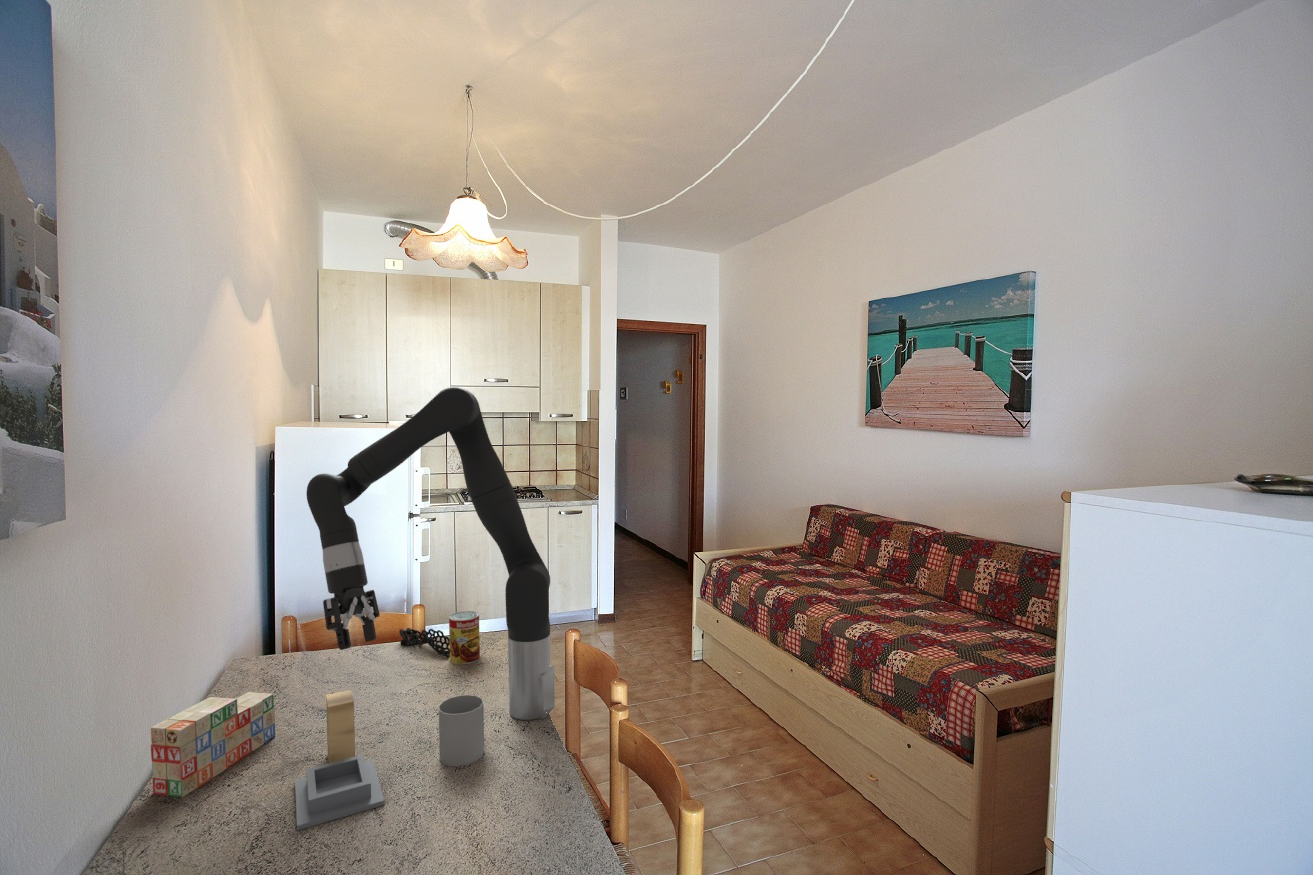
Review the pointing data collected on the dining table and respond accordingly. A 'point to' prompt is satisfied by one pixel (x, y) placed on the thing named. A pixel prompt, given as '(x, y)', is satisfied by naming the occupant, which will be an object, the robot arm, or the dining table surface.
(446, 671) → the dining table surface
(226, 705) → the stack of blocks
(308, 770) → the grey socket base
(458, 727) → the cup
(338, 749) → the wooden block
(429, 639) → the decorative element
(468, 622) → the canned food
